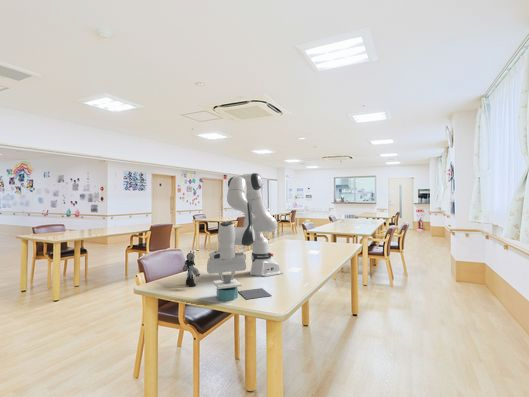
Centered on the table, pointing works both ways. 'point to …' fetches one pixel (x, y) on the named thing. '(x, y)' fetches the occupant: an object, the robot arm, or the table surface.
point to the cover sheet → (221, 285)
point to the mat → (254, 293)
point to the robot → (190, 269)
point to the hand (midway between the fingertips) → (226, 280)
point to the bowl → (227, 294)
